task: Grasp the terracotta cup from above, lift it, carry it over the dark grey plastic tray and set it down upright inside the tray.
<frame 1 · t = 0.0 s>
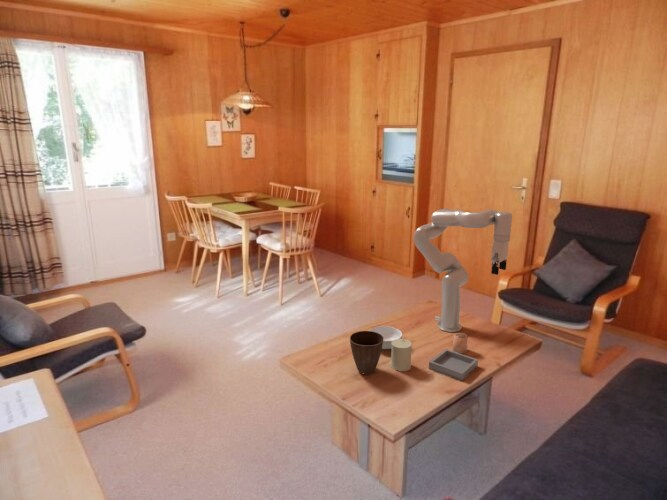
hand: (498, 271, 221), 37 cm above the table, tool pointing down, fingers open, 9 cm apart
plant pot: (366, 370, 204), on the table
grey tray: (453, 367, 205), on the table
terracotta cup: (459, 350, 221), on the table
pillar candle: (400, 366, 207), on the table
cereal bowl: (384, 346, 226), on the table
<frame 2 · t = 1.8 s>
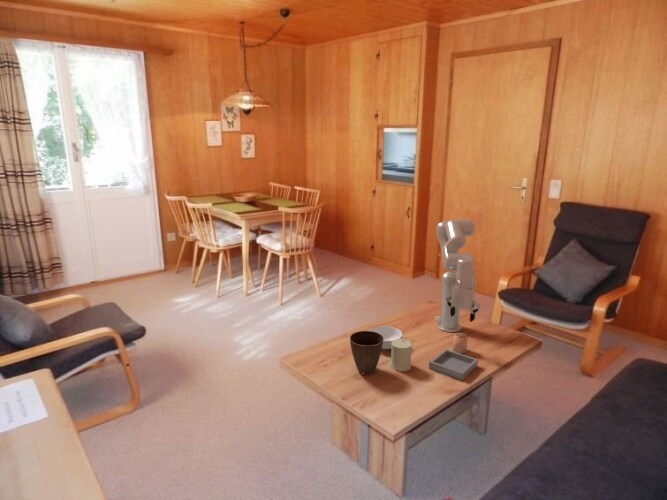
hand: (462, 318, 216), 17 cm above the table, tool pointing down, fingers open, 9 cm apart
nothing on the table moved.
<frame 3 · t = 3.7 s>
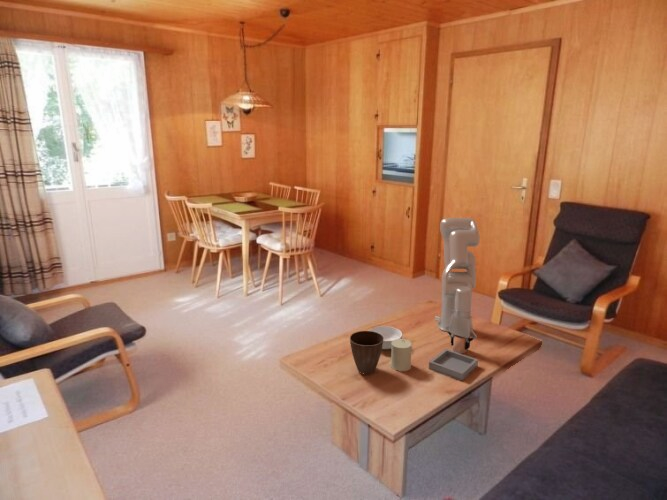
hand: (460, 346, 220), 2 cm above the table, tool pointing down, fingers closed on terracotta cup, 6 cm apart
terracotta cup: (459, 350, 220), on the table, touching gripper
everything else where it was.
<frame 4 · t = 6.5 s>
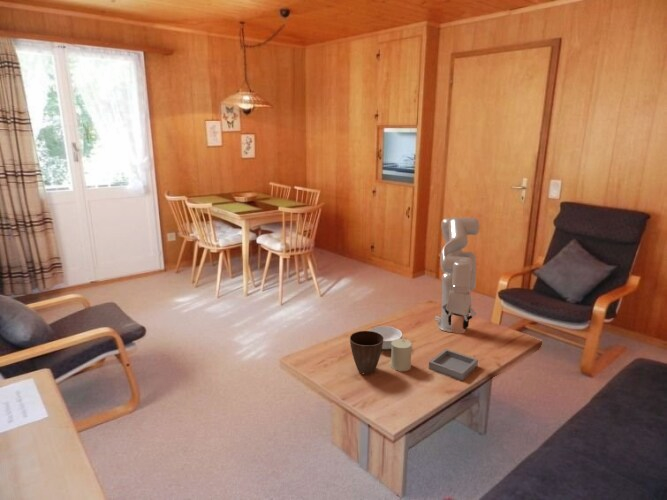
hand: (458, 325, 205), 18 cm above the table, tool pointing down, fingers closed on terracotta cup, 6 cm apart
terracotta cup: (457, 330, 205), point 16 cm above the table, touching gripper
everything else where it was.
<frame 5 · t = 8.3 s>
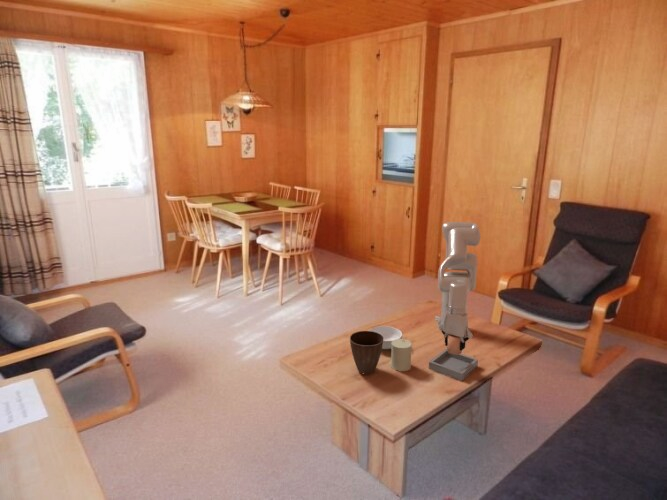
hand: (454, 346, 202), 11 cm above the table, tool pointing down, fingers closed on terracotta cup, 6 cm apart
terracotta cup: (454, 351, 203), point 8 cm above the table, touching gripper
everything else where it was.
when the fingers open (6 cm above the table, at t = 9.7 s): terracotta cup drops 2 cm, resting on grey tray.
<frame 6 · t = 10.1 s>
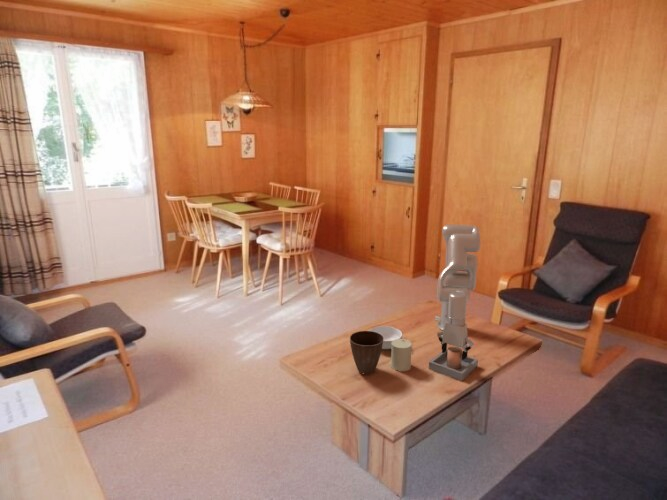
hand: (454, 355, 203), 6 cm above the table, tool pointing down, fingers open, 9 cm apart
terracotta cup: (453, 365, 205), point 1 cm above the table, touching grey tray
everything else where it was.
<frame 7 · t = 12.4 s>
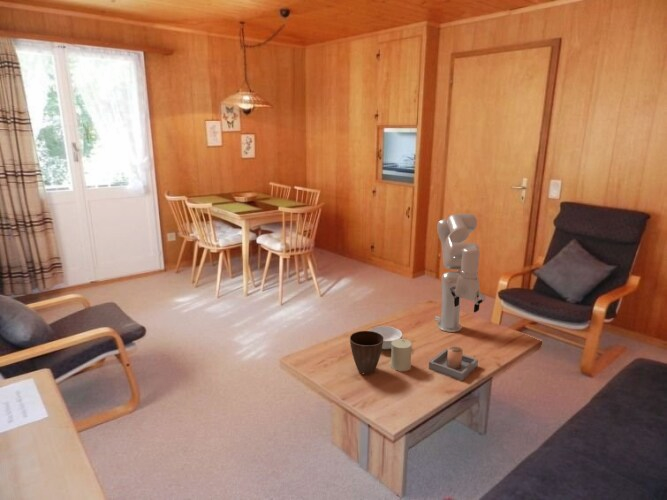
hand: (466, 308, 210), 24 cm above the table, tool pointing down, fingers open, 9 cm apart
nothing on the table moved.
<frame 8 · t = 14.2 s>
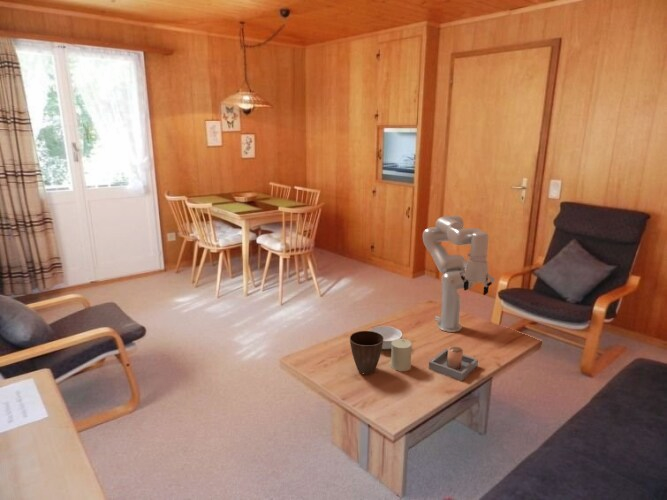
hand: (475, 291, 218), 28 cm above the table, tool pointing down, fingers open, 9 cm apart
nothing on the table moved.
at the end: terracotta cup inside the target area on the grey tray (0.2 cm from its centre), point 1.1 cm above the grey tray's base; terracotta cup tilted 2°; the gripper is holding nothing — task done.
